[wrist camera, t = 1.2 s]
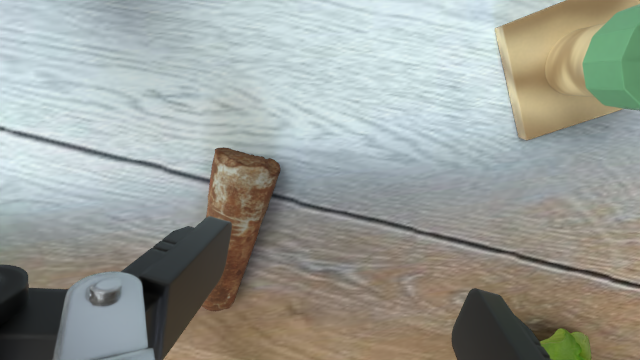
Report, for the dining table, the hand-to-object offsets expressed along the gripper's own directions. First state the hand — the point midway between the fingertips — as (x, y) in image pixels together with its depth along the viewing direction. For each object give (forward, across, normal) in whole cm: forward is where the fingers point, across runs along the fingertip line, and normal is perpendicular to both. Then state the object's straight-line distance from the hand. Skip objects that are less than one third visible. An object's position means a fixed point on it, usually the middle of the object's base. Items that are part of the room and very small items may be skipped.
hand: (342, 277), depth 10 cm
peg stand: (+22, -16, -12) cm, 30 cm away
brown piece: (+22, +9, +11) cm, 26 cm away
